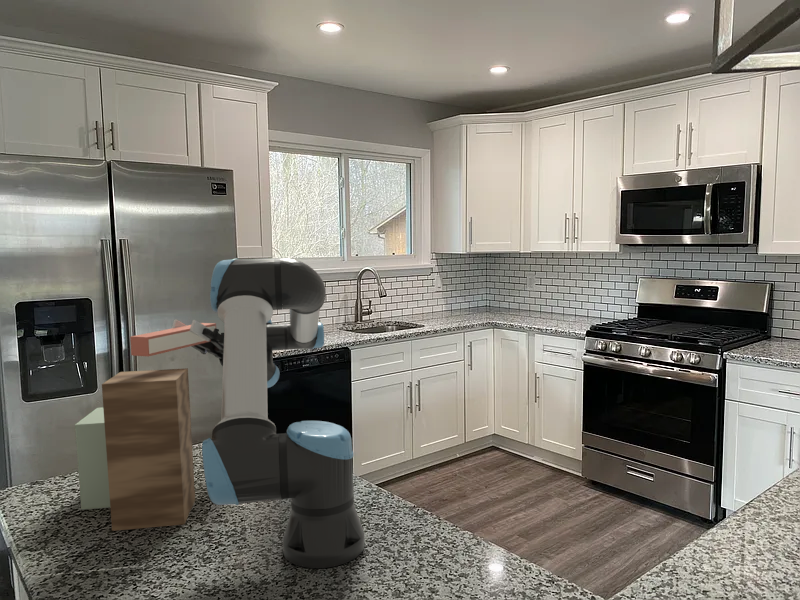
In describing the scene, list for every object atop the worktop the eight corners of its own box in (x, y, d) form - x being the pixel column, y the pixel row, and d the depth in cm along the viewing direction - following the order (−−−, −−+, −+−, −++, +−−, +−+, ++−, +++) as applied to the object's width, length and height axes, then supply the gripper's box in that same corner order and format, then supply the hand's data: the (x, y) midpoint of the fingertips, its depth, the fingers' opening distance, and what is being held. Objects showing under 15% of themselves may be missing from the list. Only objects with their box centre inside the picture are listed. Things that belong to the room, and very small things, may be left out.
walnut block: (184, 524, 122) (175, 380, 120) (112, 530, 120) (101, 384, 118) (195, 500, 134) (187, 368, 132) (129, 505, 132) (120, 371, 129)
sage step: (139, 504, 132) (133, 420, 131) (81, 509, 131) (74, 424, 129) (154, 480, 146) (150, 404, 144) (102, 484, 144) (97, 407, 143)
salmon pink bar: (201, 339, 145) (200, 322, 145) (216, 339, 144) (216, 323, 143) (131, 355, 125) (130, 336, 125) (148, 356, 123) (147, 337, 123)
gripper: (264, 374, 151) (210, 341, 132) (207, 371, 158) (147, 339, 138) (271, 346, 154) (219, 310, 134) (215, 344, 161) (157, 309, 141)
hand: (183, 325), depth 136 cm, fingers closed on salmon pink bar, 5 cm apart
